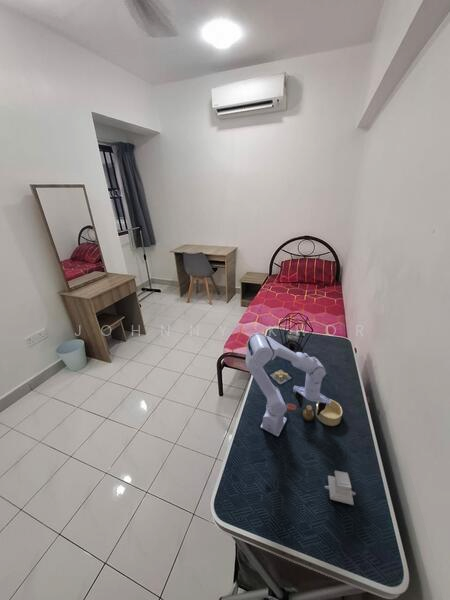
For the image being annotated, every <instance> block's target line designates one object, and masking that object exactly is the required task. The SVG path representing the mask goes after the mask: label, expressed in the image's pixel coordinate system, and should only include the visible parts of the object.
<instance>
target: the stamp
mask: <svg viewBox="0 0 450 600" xmlns="http://www.w3.org/2000/svg"><path fill="white" fill-rule="evenodd" d="M327 482H328V485H325V486H324V488H325V490H327V491H328V492H329V499H330V500H332V501H335V502H340V503H343V504H348V505H351V506H355V503H354V498H353V497H354V496H356V495H357V494H356V492H355V491H353V490H352V484H351V480H350V476H349V473H348V472H345V471H339V470H334V476H333V475H327Z"/></svg>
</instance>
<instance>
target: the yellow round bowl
mask: <svg viewBox="0 0 450 600" xmlns="http://www.w3.org/2000/svg"><path fill="white" fill-rule="evenodd" d="M319 403H320V402H316V406H315V416H316V418H317V419H318V421H319V422H321V423H322V424H324V425H326V426H330V427H335V426H337V425H339V424H340V423H341V421H342V417H343V408H342V406H341V405H340V403H339V402H337V401H336V400H334V399H331V403H330V406H327V404H326V407H325V409H324V410H322V411H321V412H320V414H319V416H318V415H317V412H318V405H319Z"/></svg>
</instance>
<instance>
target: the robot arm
mask: <svg viewBox="0 0 450 600" xmlns="http://www.w3.org/2000/svg"><path fill="white" fill-rule="evenodd" d="M277 357H279V358H282V359H284V360H286V361H289V362H290V363H291V365H292V366H293V367H294V368H296V369H298V370H301V371H302V372H304V373H305V381H304V386H298V385H294V386H293V388H292V392H293V393H295V395H294V397H295V399H296V400H297V403H298V407H299V408H300V409H301V408H302V407H303V404H304V398H305V399H306V400H308V401H310V402H313V403H317V402H320V403H319V405H318V412H317V415H318V416H319V414H320V412H321V411H322V410H324V409H325V407H326V404H327V406H330V403H331V400H332V399H331V398H328V397H327V396H325V395H324V394H322V393H321V387H322V381H323V378H324V377H325V376H326V374H327V371H326V368H325V367H324V365H323V364H322V363H321V362H320V360H319V359H318V358H317V357H316V356H309V354H308V353H306V352H301V351H296V352H295V351H293V350H291V349H289V348H288V347H286V346H284V345H282V344H281V343H279V342H278V341H276V340H275V339H273V338H272V337H271V336H269V335H265V334H264V333H262V332H255V333H253V334H251V335H249V338H248V340H247V341H246V353H245V365H246V368H247V370H248V371H249V373H250V375H251V376H252V378H253V379H254V381H255V382H256V384H257V385H258V387H259V388H260V390H261V391H262V393H263V395H264V397H265V399H266V400H267V401H266V405H265V413H264V414H263V417H262V422H261V425H260V428H261V429H263V430H265V431H267V432H268V433H270V434H272V435H274V436H276V437H279V436H280V434H281V432H282V430H283V428H284V426H285V424H286V422H287V419H288V418H287V417H285V414H286V413H287V411H288V406H287V405H286V403H285V401H284V398H283V395H282V393H281V390H280V389H279V387H277V386H275V385H274V383H272V381H271V379H270V377H269V376H268V374H267V372H266V371H265V368H264V366H266V364H267V363H268V362H269V361H274V360H275V358H277Z"/></svg>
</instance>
